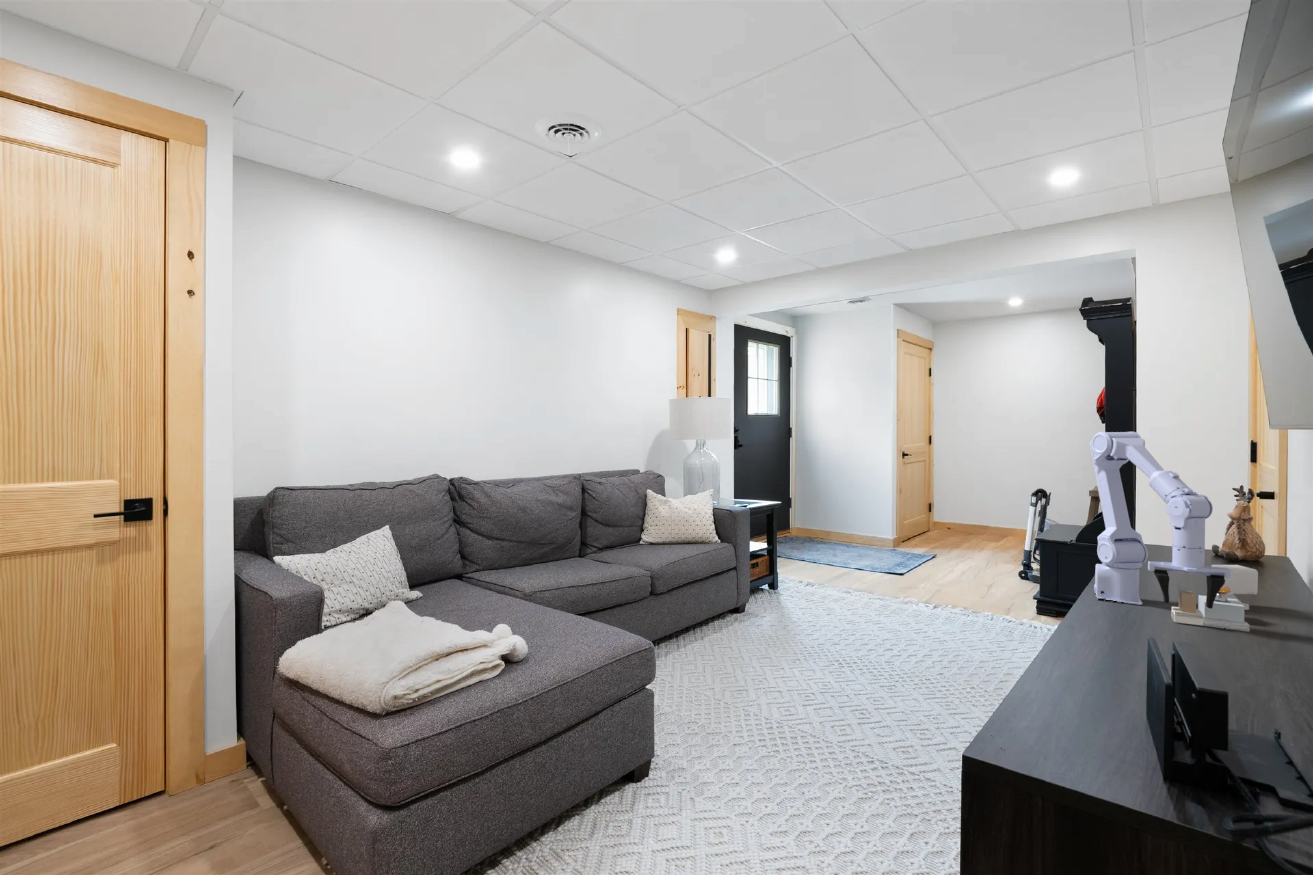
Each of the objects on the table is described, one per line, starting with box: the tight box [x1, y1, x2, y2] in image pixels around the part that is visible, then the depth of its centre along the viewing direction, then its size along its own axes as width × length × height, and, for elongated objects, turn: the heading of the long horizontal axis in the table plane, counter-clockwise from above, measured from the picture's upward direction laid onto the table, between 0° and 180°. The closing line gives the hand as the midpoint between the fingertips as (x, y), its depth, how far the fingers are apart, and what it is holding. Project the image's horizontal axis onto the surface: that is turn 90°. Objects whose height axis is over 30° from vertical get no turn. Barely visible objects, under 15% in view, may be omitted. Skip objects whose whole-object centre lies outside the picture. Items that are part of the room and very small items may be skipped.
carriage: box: [1171, 589, 1204, 627], centre depth 145 cm, size 5×4×7 cm
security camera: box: [1211, 564, 1259, 611], centre depth 157 cm, size 6×7×10 cm
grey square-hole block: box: [1197, 594, 1245, 622], centre depth 149 cm, size 7×7×4 cm
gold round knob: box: [1214, 586, 1231, 603], centre depth 149 cm, size 3×3×4 cm
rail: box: [1171, 612, 1250, 633], centre depth 143 cm, size 13×2×2 cm, turn 58°
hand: (1187, 604), depth 145 cm, fingers open, 7 cm apart
